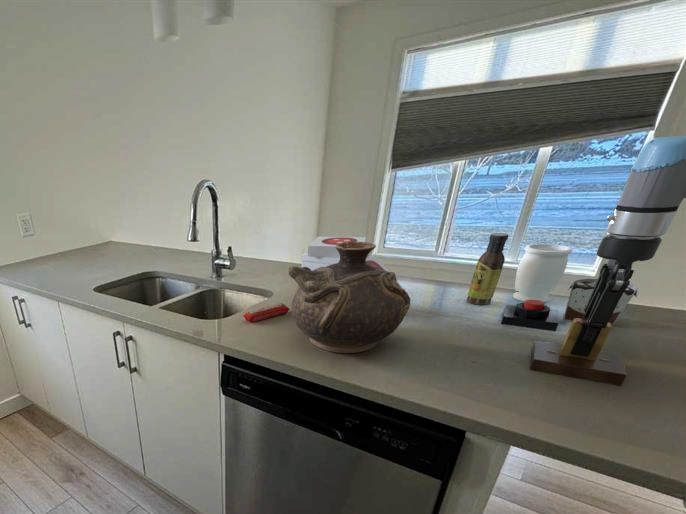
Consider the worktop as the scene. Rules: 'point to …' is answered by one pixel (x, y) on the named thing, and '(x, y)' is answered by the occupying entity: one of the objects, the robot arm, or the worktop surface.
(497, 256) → the sauce bottle
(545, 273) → the jar
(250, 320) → the candy bar
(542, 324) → the set button box
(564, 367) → the plate
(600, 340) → the thumb turn
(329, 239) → the pizza boxes
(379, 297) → the vessel
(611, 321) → the food container
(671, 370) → the worktop surface
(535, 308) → the set button
